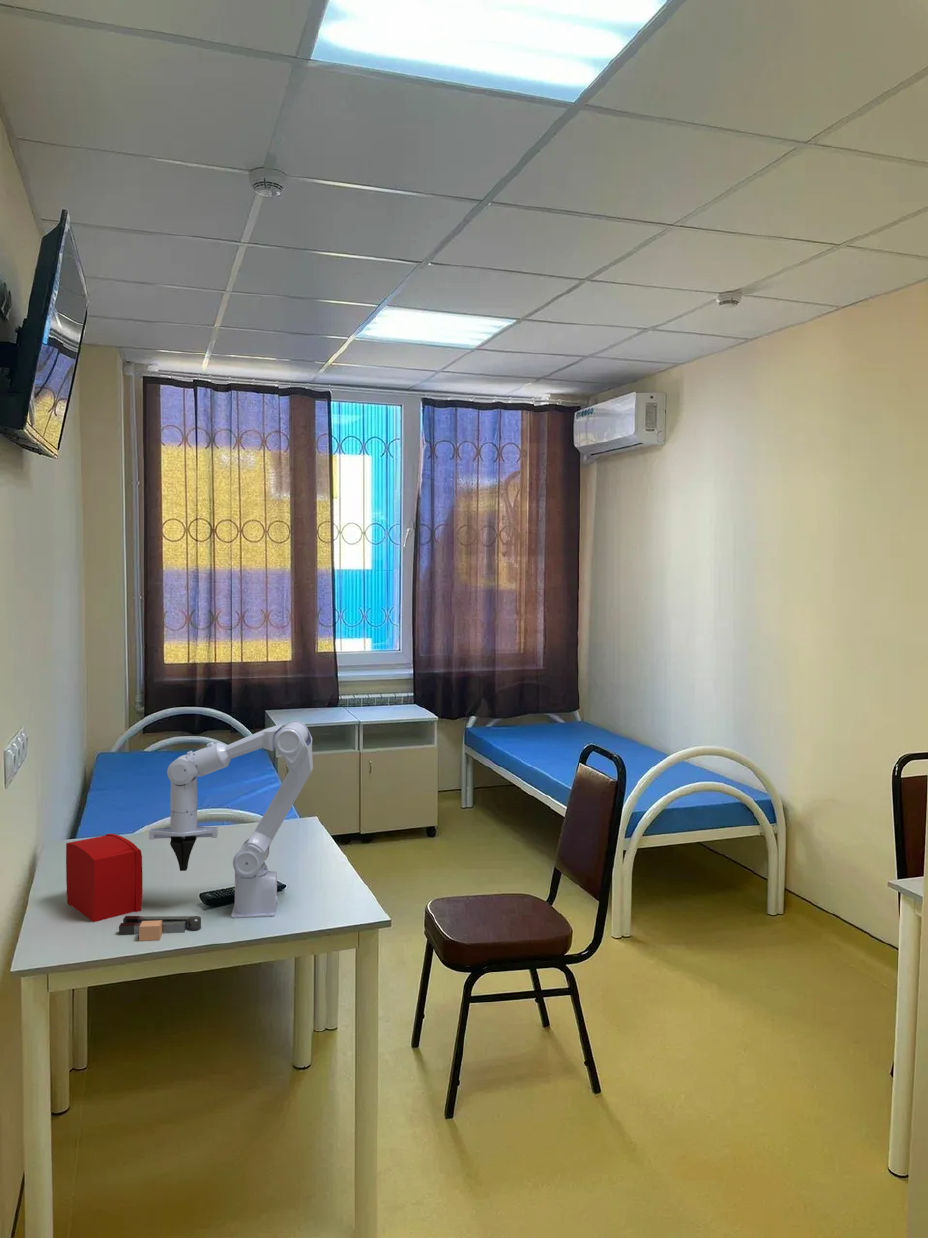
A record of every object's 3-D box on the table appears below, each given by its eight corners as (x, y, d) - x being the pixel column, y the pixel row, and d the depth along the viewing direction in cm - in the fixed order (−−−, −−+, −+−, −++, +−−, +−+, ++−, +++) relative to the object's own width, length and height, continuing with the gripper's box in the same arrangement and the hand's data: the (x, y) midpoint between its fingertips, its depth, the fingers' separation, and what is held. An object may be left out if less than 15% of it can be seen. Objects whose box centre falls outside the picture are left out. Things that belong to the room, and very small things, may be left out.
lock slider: (162, 934, 186) (162, 920, 186) (159, 940, 183) (159, 926, 183) (142, 935, 186) (142, 921, 186) (139, 941, 183) (139, 926, 183)
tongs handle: (185, 930, 189) (185, 920, 189) (184, 933, 187) (184, 923, 187) (120, 932, 187) (120, 923, 187) (119, 936, 185) (119, 926, 185)
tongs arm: (202, 925, 191) (202, 915, 191) (199, 931, 188) (199, 920, 188) (125, 925, 190) (125, 915, 190) (121, 931, 187) (121, 921, 187)
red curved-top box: (143, 911, 199) (142, 845, 198) (94, 924, 192) (94, 856, 191) (112, 891, 211) (112, 829, 210) (66, 903, 203) (65, 838, 202)
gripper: (219, 804, 204) (219, 862, 204) (153, 805, 201) (153, 864, 202) (215, 812, 197) (215, 873, 197) (147, 814, 195) (147, 875, 195)
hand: (183, 869), depth 199 cm, fingers closed
